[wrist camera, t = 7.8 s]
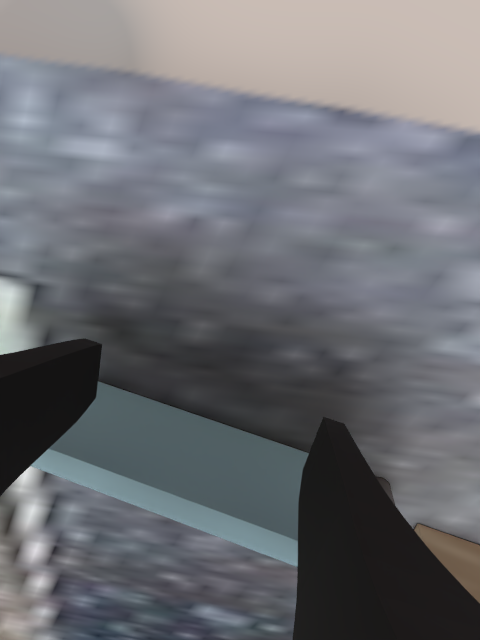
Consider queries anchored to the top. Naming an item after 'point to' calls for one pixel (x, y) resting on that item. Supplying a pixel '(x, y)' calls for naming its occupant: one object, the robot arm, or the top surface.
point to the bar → (185, 470)
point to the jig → (450, 552)
